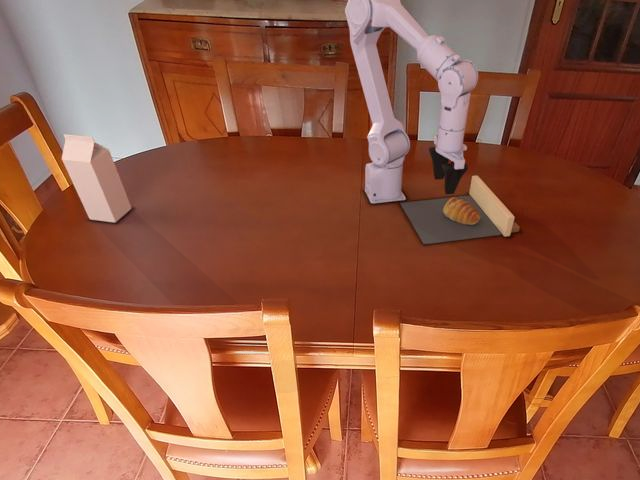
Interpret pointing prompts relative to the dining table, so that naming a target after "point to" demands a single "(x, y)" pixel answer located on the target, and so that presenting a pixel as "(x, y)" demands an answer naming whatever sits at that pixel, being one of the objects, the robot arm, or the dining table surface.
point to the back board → (493, 207)
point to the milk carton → (95, 178)
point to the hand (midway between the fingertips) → (444, 186)
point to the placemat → (445, 222)
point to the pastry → (461, 211)
